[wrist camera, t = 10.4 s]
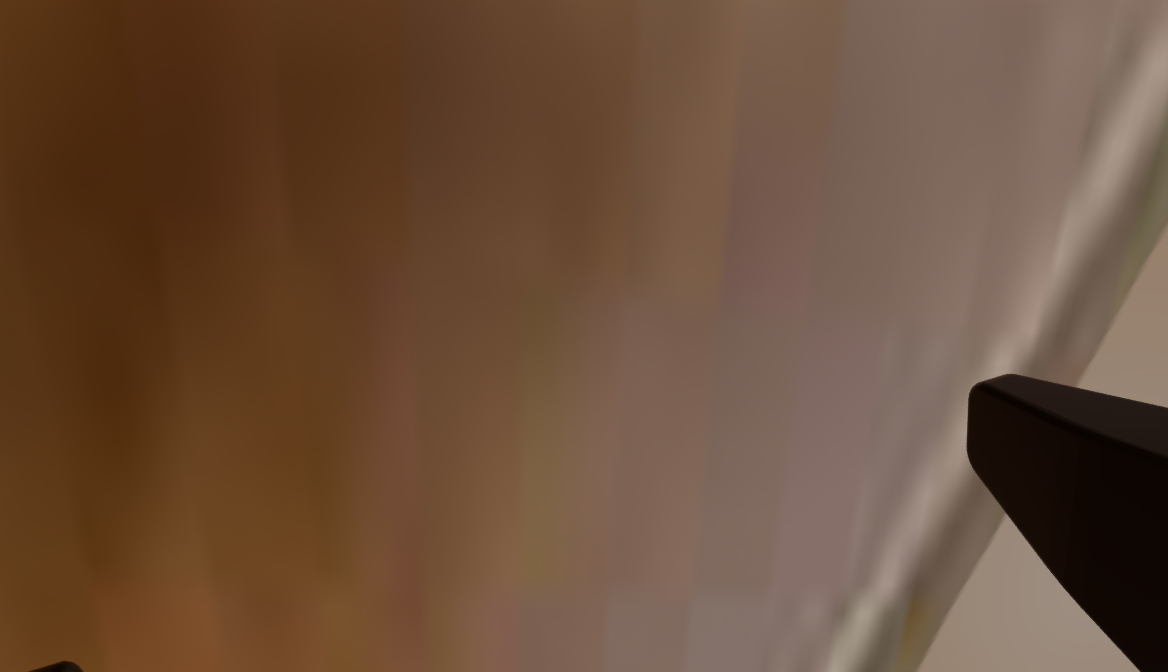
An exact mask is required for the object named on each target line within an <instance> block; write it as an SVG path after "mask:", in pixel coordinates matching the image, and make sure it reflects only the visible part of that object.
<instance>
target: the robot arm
mask: <svg viewBox="0 0 1168 672" xmlns="http://www.w3.org/2000/svg"><path fill="white" fill-rule="evenodd" d="M967 454H968V458H969V461H970V464H971V465H972V467H973V469H974V471H975V472H976V474H977V475H978V477H979V478H980V479H981V481H982V482H983V483H984V485H985V486H986V487H987V488H988V490H989V491H990V492H991V494H992V495H993V496H994V498H995V499H996V500H997V502H998V503H999V504H1000V506H1001V507H1002V508H1003V510H1004V511H1005V512H1006V514H1007V515H1008V516H1009V518H1010V519H1011V520H1012V522H1013V523H1014V524H1015V526H1017V528H1018V530H1019V531H1020V532H1021V533H1022V535H1023V536H1024V537H1025V539H1026V540H1027V541H1028V543H1029V544H1030V545H1031V547H1032V548H1033V549H1034V551H1035V552H1036V553H1037V555H1038V556H1039V557H1040V559H1041V560H1042V561H1043V563H1044V564H1045V565H1046V566H1047V568H1048V569H1049V570H1050V571H1051V573H1052V574H1053V575H1054V576H1055V578H1056V579H1057V580H1058V581H1059V583H1060V584H1061V585H1062V586H1063V588H1064V589H1065V590H1066V591H1067V592H1068V593H1069V594H1070V596H1071V597H1072V598H1073V599H1074V600H1075V601H1076V602H1077V603H1078V605H1079V606H1080V607H1081V608H1082V609H1083V610H1084V611H1085V612H1086V613H1087V615H1088V616H1089V617H1090V618H1091V619H1092V620H1093V621H1094V622H1095V623H1096V624H1097V625H1098V626H1099V627H1100V629H1102V631H1103V632H1104V633H1105V634H1106V635H1107V636H1108V637H1109V638H1110V639H1111V640H1112V641H1113V643H1114V644H1115V645H1116V646H1117V647H1118V648H1119V649H1120V650H1121V651H1122V652H1123V653H1124V655H1125V656H1126V657H1127V658H1128V659H1129V660H1130V661H1131V662H1132V663H1133V664H1134V665H1135V666H1136V668H1137V669H1138V670H1139V671H1140V672H1168V408H1166V407H1162V406H1157V405H1153V404H1148V403H1143V402H1139V401H1134V400H1130V399H1125V398H1121V397H1116V396H1111V395H1107V394H1103V393H1098V392H1093V391H1089V390H1085V389H1080V388H1076V387H1071V386H1067V385H1062V384H1057V383H1053V382H1048V381H1044V380H1039V379H1035V378H1030V377H1026V376H1021V375H1017V374H1005V375H1002V376H998V377H995V378H992V379H989V380H985V381H982V382H979V383H977V384H976V385H974V386H973V387H972V389H971V391H970V393H969V399H968V423H967ZM29 672H83V671H82V669H81V668H80V667H79V666H78V665H76V664H75V663H73V662H69V661H62V662H58V663H55V664H52V665H48V666H45V667H42V668H38V669H35V670H32V671H29Z"/></svg>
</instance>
